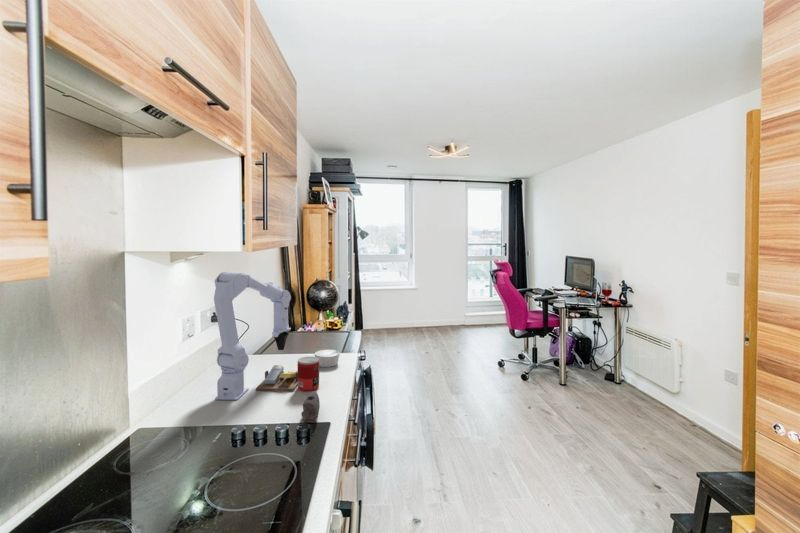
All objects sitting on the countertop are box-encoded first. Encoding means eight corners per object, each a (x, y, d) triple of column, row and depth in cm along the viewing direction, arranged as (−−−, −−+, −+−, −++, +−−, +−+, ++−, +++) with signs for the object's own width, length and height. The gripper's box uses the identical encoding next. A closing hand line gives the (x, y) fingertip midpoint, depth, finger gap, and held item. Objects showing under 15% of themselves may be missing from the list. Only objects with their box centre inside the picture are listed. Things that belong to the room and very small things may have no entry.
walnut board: (293, 391, 133) (293, 379, 133) (255, 390, 133) (255, 379, 133) (305, 375, 149) (305, 365, 149) (271, 375, 149) (271, 364, 149)
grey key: (275, 383, 136) (275, 379, 136) (264, 383, 136) (263, 379, 136) (283, 369, 146) (283, 365, 146) (273, 369, 146) (273, 365, 146)
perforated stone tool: (306, 405, 122) (306, 385, 122) (322, 404, 123) (322, 384, 122) (299, 427, 107) (299, 405, 107) (317, 426, 108) (317, 404, 107)
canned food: (317, 391, 133) (317, 362, 132) (295, 392, 133) (295, 362, 132) (320, 383, 141) (320, 356, 140) (299, 384, 140) (299, 356, 140)
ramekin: (340, 367, 160) (340, 355, 160) (314, 369, 157) (314, 357, 157) (338, 359, 171) (338, 348, 171) (314, 361, 168) (314, 350, 168)
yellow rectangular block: (291, 377, 136) (291, 372, 136) (279, 377, 136) (280, 372, 136) (298, 376, 146) (298, 371, 146) (287, 376, 146) (288, 371, 146)
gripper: (284, 321, 144) (284, 355, 144) (295, 314, 158) (295, 345, 159) (267, 321, 144) (267, 354, 144) (279, 314, 158) (279, 344, 159)
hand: (281, 349), depth 152 cm, fingers closed
